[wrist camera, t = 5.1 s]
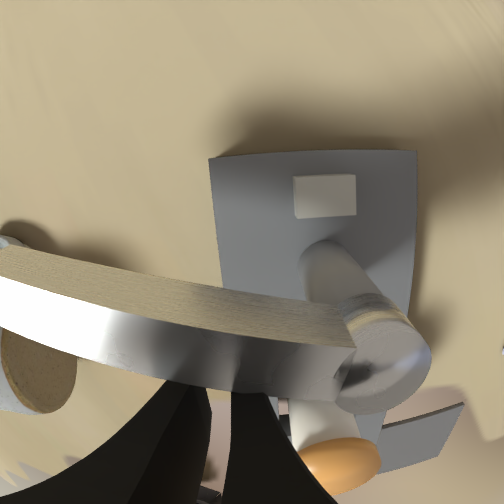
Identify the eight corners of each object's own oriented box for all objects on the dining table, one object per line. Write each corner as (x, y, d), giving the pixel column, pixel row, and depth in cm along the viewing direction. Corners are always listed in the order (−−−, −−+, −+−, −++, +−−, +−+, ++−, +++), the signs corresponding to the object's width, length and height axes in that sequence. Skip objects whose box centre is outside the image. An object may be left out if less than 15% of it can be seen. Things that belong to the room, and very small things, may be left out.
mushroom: (354, 353, 17) (390, 441, 11) (347, 406, 19) (371, 487, 12) (275, 362, 17) (282, 458, 11) (278, 414, 19) (284, 501, 12)
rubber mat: (462, 401, 19) (464, 404, 19) (436, 453, 22) (437, 456, 21) (380, 425, 20) (382, 429, 19) (364, 473, 22) (365, 477, 22)
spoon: (383, 370, 9) (404, 413, 7) (18, 302, 8) (-16, 330, 6) (413, 298, 8) (447, 335, 6) (10, 228, 7) (-33, 248, 5)
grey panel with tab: (397, 149, 14) (492, 157, 7) (367, 431, 20) (391, 505, 13) (214, 157, 14) (176, 163, 7) (251, 445, 20) (250, 525, 13)
